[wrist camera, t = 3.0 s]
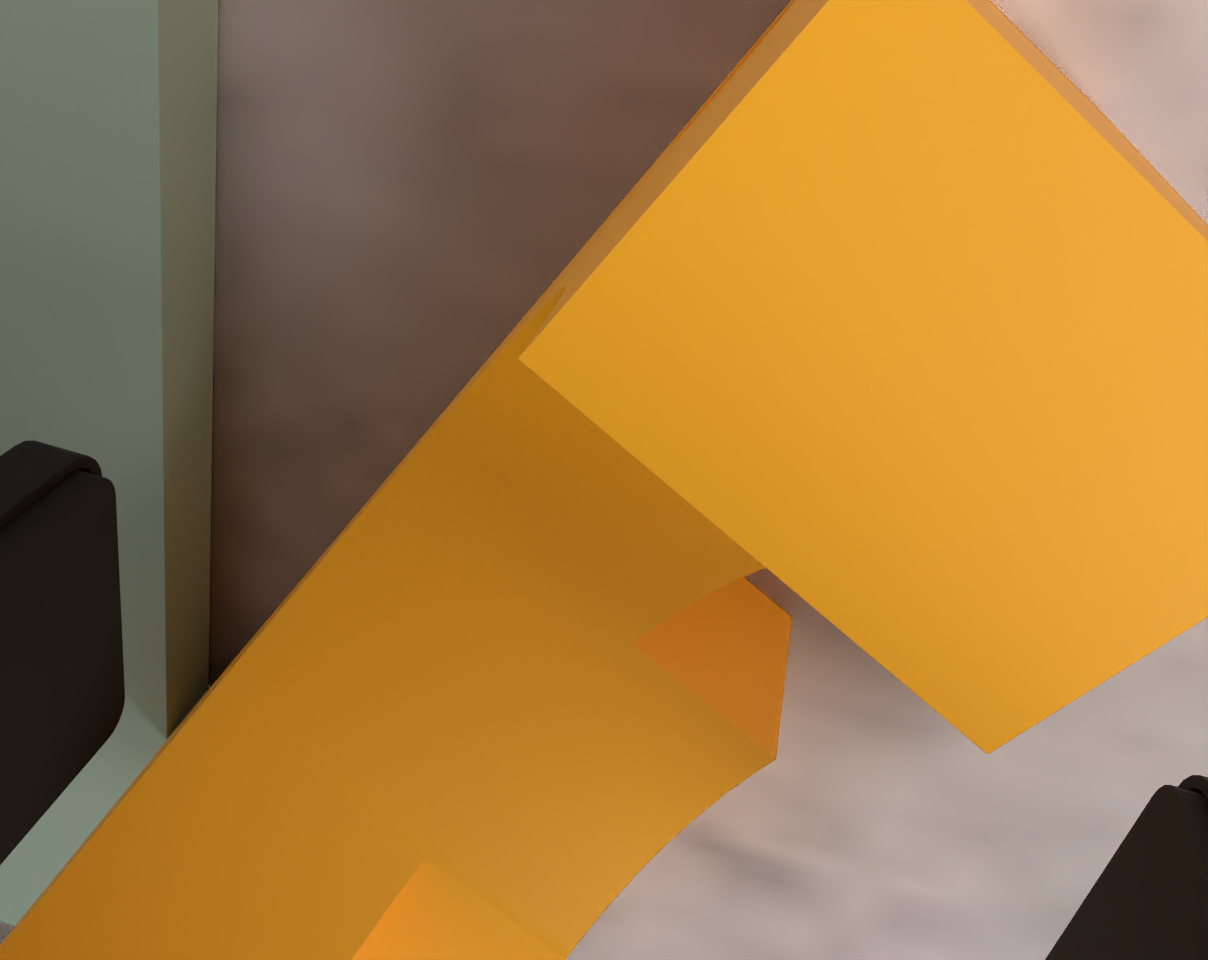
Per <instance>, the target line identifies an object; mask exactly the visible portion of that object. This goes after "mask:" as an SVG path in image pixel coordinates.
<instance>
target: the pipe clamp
mask: <svg viewBox="0 0 1208 960" xmlns="http://www.w3.org/2000/svg"><path fill="white" fill-rule="evenodd" d="M765 568H767V569H768V570H769V571H770V572H772V573H773V574H774V575H775V576H776V577H778V578H779V579H780V580H781V581H782V582H784V583H785V584H786V585H787V586H788V587H789V588H791V589H792V590H793V591H794V592H795V593H797V594H798V595H799V596H800V597H801V598H802V599H804V600H805V601H806V602H807V603H808V604H810V605H811V606H812V607H813V608H814V609H816V610H817V611H818V612H819V613H820V614H821V615H823V616H824V617H825V618H826V619H827V620H829V621H830V622H831V623H832V624H833V625H834V626H836V627H837V628H838V629H839V630H840V631H842V632H843V633H844V634H845V635H846V636H848V637H849V638H850V639H851V640H852V641H853V642H855V643H856V644H857V645H858V646H859V647H861V648H862V649H863V650H864V651H865V652H866V653H868V654H869V655H870V656H871V657H872V658H874V659H875V660H876V661H877V662H878V663H880V664H881V665H882V666H883V667H884V668H885V669H887V670H888V671H889V672H890V673H891V674H893V675H894V676H895V677H896V678H897V679H898V680H900V681H901V682H902V683H903V684H904V685H906V686H907V687H908V688H909V689H910V690H912V691H913V692H914V693H915V694H916V695H917V696H919V697H920V698H921V699H922V700H923V701H925V702H926V703H927V704H928V705H929V706H930V707H932V708H933V709H934V710H935V711H936V712H938V713H939V714H940V715H941V716H942V717H944V718H945V719H946V720H947V721H948V722H949V723H951V724H952V725H953V726H954V727H955V728H957V729H958V730H959V731H960V732H961V733H962V734H964V735H965V736H966V737H967V738H968V739H970V740H971V741H972V742H973V743H974V744H976V745H977V746H978V747H979V748H980V749H981V750H983V751H984V752H985V753H986V754H989V753H991V752H992V751H994V750H995V749H997V748H999V747H1000V746H1002V745H1003V744H1005V743H1007V742H1008V741H1010V740H1011V739H1013V738H1015V737H1016V736H1018V735H1019V734H1021V733H1023V732H1024V731H1026V730H1027V729H1029V728H1031V727H1032V726H1034V725H1035V724H1037V723H1039V722H1040V721H1042V720H1043V719H1045V718H1047V717H1048V716H1050V715H1051V714H1053V713H1055V712H1056V711H1058V710H1059V709H1061V708H1063V707H1064V706H1066V705H1067V704H1069V703H1071V702H1072V701H1074V700H1075V699H1077V698H1079V697H1080V696H1082V695H1083V694H1085V693H1087V692H1088V691H1090V690H1091V689H1093V688H1095V687H1096V686H1098V685H1099V684H1101V683H1103V682H1104V681H1106V680H1107V679H1109V678H1111V677H1112V676H1114V675H1115V674H1117V673H1119V672H1120V671H1122V670H1123V669H1125V668H1127V667H1128V666H1130V665H1131V664H1133V663H1135V662H1136V661H1138V660H1139V659H1141V658H1143V657H1144V656H1146V655H1147V654H1149V653H1151V652H1152V651H1154V650H1155V649H1157V648H1159V647H1160V646H1162V645H1163V644H1165V643H1167V642H1168V641H1170V640H1171V639H1173V638H1175V637H1176V636H1178V635H1179V634H1181V633H1183V632H1184V631H1186V630H1187V629H1189V628H1191V627H1192V626H1194V625H1195V624H1197V623H1199V622H1200V621H1202V620H1204V619H1205V618H1207V617H1208V225H1207V224H1206V223H1205V222H1204V221H1203V220H1202V219H1201V218H1200V216H1199V215H1198V214H1197V213H1196V212H1195V211H1194V210H1193V209H1192V208H1191V207H1190V206H1189V205H1188V204H1187V203H1186V202H1185V200H1184V199H1183V198H1182V197H1181V196H1180V195H1179V194H1178V193H1177V192H1176V191H1175V190H1174V189H1173V188H1172V187H1171V186H1170V184H1169V183H1168V182H1167V181H1166V180H1165V179H1164V178H1163V177H1162V176H1161V175H1160V174H1159V173H1158V172H1157V171H1156V170H1155V168H1154V167H1153V166H1152V165H1151V164H1150V163H1149V162H1148V161H1147V160H1146V159H1145V158H1144V157H1143V156H1142V155H1141V154H1140V152H1139V151H1138V150H1137V149H1136V148H1135V147H1134V146H1133V145H1132V144H1131V143H1130V142H1129V141H1128V140H1127V139H1126V138H1125V136H1124V135H1123V134H1122V133H1121V132H1120V131H1119V130H1118V129H1117V128H1116V127H1115V126H1114V125H1113V124H1112V123H1111V122H1110V120H1109V119H1108V118H1107V117H1106V116H1105V115H1104V114H1103V113H1102V112H1101V111H1100V110H1099V109H1098V108H1097V107H1096V106H1095V105H1094V104H1093V103H1092V102H1091V101H1090V100H1089V99H1088V98H1087V97H1086V96H1085V95H1084V94H1083V93H1082V92H1081V91H1080V90H1079V89H1078V88H1077V87H1076V86H1075V85H1074V84H1073V83H1072V82H1071V81H1070V80H1069V79H1068V78H1067V77H1066V76H1065V75H1064V74H1063V73H1062V72H1061V71H1060V70H1059V69H1058V68H1057V67H1056V66H1055V65H1054V64H1053V63H1052V62H1051V61H1050V60H1049V59H1048V58H1047V57H1046V56H1045V55H1044V54H1043V53H1042V52H1041V51H1040V50H1039V49H1038V48H1037V47H1036V46H1035V45H1034V44H1033V43H1032V42H1031V41H1030V40H1029V39H1028V38H1027V37H1026V36H1025V35H1024V34H1023V33H1022V32H1021V31H1020V30H1019V29H1018V28H1017V27H1016V26H1015V25H1014V24H1013V23H1012V22H1011V21H1010V20H1009V19H1008V18H1007V17H1006V16H1005V15H1004V14H1003V13H1002V12H1001V11H1000V10H999V9H998V8H997V7H996V6H995V5H994V4H993V3H992V2H991V1H990V0H791V1H790V2H789V3H788V5H787V6H786V7H785V8H784V9H783V11H782V12H781V13H780V14H779V15H778V16H777V18H776V19H775V20H774V21H773V22H772V24H771V25H770V26H769V27H768V28H767V29H766V31H765V32H764V33H763V34H762V35H761V37H760V38H759V39H758V40H757V41H756V42H755V44H754V45H753V46H752V47H751V48H750V50H749V51H748V52H747V53H746V54H745V55H744V57H743V58H742V59H741V60H740V61H739V63H738V64H737V65H736V66H735V67H734V68H733V70H732V71H731V72H730V73H729V74H728V76H727V77H726V78H725V79H724V80H723V81H722V83H721V84H720V85H719V86H718V87H717V89H716V90H715V91H714V92H713V93H712V94H711V96H710V97H709V98H708V99H707V100H706V102H705V103H704V104H703V105H702V106H701V107H700V109H699V110H698V111H697V112H696V113H695V115H694V116H693V117H692V118H691V119H690V120H689V122H688V123H687V124H686V125H685V126H684V128H683V129H682V130H681V131H680V132H679V133H678V135H677V136H676V137H675V138H674V139H673V141H672V142H671V143H670V144H669V145H668V146H667V148H666V149H665V150H664V151H663V152H662V154H661V155H660V156H659V157H658V158H657V159H656V161H655V162H654V163H653V164H652V165H651V167H650V168H649V169H648V170H647V171H646V172H645V174H644V175H643V176H642V177H641V178H640V180H639V181H638V182H637V183H636V184H635V185H634V187H633V188H632V189H631V190H630V191H629V192H628V194H627V195H626V196H625V197H624V198H623V200H622V201H621V202H620V203H619V204H618V205H617V207H616V208H615V209H614V210H613V211H612V213H611V214H610V215H609V216H608V217H607V218H606V220H605V221H604V222H603V223H602V224H601V226H600V227H599V228H598V229H597V230H596V231H595V233H594V234H593V235H592V236H591V237H590V239H589V240H588V241H587V242H586V243H585V244H584V246H583V247H582V248H581V249H580V250H579V252H578V253H577V254H576V255H575V256H574V257H573V259H572V260H571V261H570V262H569V263H568V265H567V266H566V267H565V268H564V269H563V270H562V272H561V273H560V274H559V275H558V276H557V278H556V279H555V280H554V281H553V282H552V283H551V285H550V286H549V287H548V288H547V289H546V291H545V292H544V293H543V294H542V295H541V296H540V298H539V299H538V300H537V301H536V302H535V304H534V305H533V306H532V307H531V308H530V309H529V311H528V312H527V313H526V314H525V315H524V317H523V318H522V319H521V320H520V321H519V322H518V324H517V325H516V326H515V327H514V328H513V330H512V331H511V332H510V333H509V334H508V335H507V337H506V338H505V339H504V340H503V341H502V343H501V344H500V345H499V346H498V347H497V348H496V350H495V351H494V352H493V353H492V354H491V356H490V357H489V358H488V359H487V360H486V361H485V363H484V364H483V365H482V366H481V367H480V369H479V370H478V371H477V372H476V373H475V374H474V376H473V377H472V378H471V379H470V380H469V382H468V383H467V384H466V385H465V386H464V387H463V389H462V390H461V391H460V392H459V393H458V395H457V396H456V397H455V398H454V399H453V400H452V402H451V403H450V404H449V405H448V406H447V408H446V409H445V410H444V411H443V412H442V413H441V415H440V416H439V417H438V418H437V419H436V421H435V422H434V423H433V424H432V425H431V426H430V428H429V429H428V430H427V431H426V432H425V434H424V435H423V436H422V437H421V438H420V439H419V441H418V442H417V443H416V444H415V445H414V447H413V448H412V449H411V450H410V451H409V452H408V454H407V455H406V456H405V457H404V458H403V460H402V461H401V462H400V463H399V464H398V465H397V467H396V468H395V469H394V470H393V471H392V473H391V474H390V475H389V476H388V477H387V478H386V480H385V481H384V482H383V483H382V484H381V486H380V487H379V488H378V489H377V490H376V491H375V493H374V494H373V495H372V496H371V497H370V499H369V500H368V501H367V502H366V503H365V504H364V506H363V507H362V508H361V509H360V510H359V512H358V513H357V514H356V515H355V516H354V517H353V519H352V520H351V521H350V522H349V523H348V525H347V526H346V527H345V528H344V529H343V530H342V532H341V533H340V534H339V535H338V536H337V538H336V539H335V540H334V541H333V542H332V543H331V545H330V546H329V547H328V548H327V549H326V551H325V552H324V553H323V554H322V555H321V556H320V558H319V559H318V560H317V561H316V562H315V564H314V565H313V566H312V567H311V568H310V569H309V571H308V572H307V573H306V574H305V575H304V577H303V578H302V579H301V580H300V581H299V582H298V584H297V585H296V586H295V587H294V588H293V590H292V591H291V592H290V593H289V594H288V595H287V597H286V598H285V599H284V600H283V601H282V603H281V604H280V605H279V606H278V607H277V608H276V610H275V611H274V612H273V613H272V614H271V616H270V617H269V618H268V619H267V620H266V621H265V623H264V624H263V625H262V626H261V627H260V629H259V630H258V631H257V632H256V633H255V634H254V636H253V637H252V638H251V639H250V640H249V642H248V643H247V644H246V645H245V646H244V647H243V649H242V650H241V651H240V652H239V653H238V655H237V656H236V657H235V658H234V659H233V660H232V662H231V663H230V664H229V665H228V666H227V668H226V669H225V670H224V671H223V672H222V673H221V675H220V676H219V677H218V678H217V679H216V681H215V682H214V683H213V684H212V685H211V686H210V688H209V689H208V690H207V691H206V693H205V694H204V695H203V696H202V697H201V699H200V700H199V701H198V702H197V704H196V705H195V706H194V707H193V708H192V710H191V711H190V712H189V713H188V715H187V716H186V717H185V718H184V720H183V721H182V722H181V723H180V724H179V726H178V727H177V728H176V729H175V731H174V732H173V733H172V734H171V735H170V737H169V738H168V739H167V740H166V742H165V743H164V744H163V745H162V746H161V748H160V749H159V750H158V751H157V753H156V754H155V755H154V756H153V757H152V759H151V760H150V761H149V762H148V764H147V765H146V766H145V767H144V768H143V770H142V771H141V772H140V773H139V775H138V776H137V777H136V778H135V779H134V781H133V782H132V783H131V784H130V786H129V787H128V788H127V789H126V791H125V792H124V793H123V794H122V795H121V797H120V798H119V799H118V800H117V802H116V803H115V804H114V805H113V806H112V808H111V809H110V810H109V811H108V813H107V814H106V815H105V816H104V817H103V819H102V820H101V821H100V822H99V824H98V825H97V826H96V827H95V828H94V830H93V831H92V832H91V833H90V835H89V836H88V837H87V838H86V839H85V841H84V842H83V843H82V844H81V846H80V847H79V848H78V849H77V850H76V852H75V853H74V854H73V855H72V857H71V858H70V859H69V860H68V862H67V863H66V864H65V865H64V866H63V868H62V869H61V870H60V871H59V873H58V874H57V875H56V876H55V877H54V879H53V880H52V881H51V882H50V884H49V885H48V886H47V887H46V888H45V890H44V891H43V892H42V893H41V895H40V896H39V897H38V898H37V899H36V901H35V902H34V903H33V904H32V906H31V907H30V908H29V909H28V910H27V912H26V913H25V914H24V915H23V917H22V918H21V919H20V920H19V921H18V923H17V924H16V925H15V926H14V928H13V929H12V930H11V931H10V933H9V934H8V935H7V936H6V937H5V939H4V940H3V941H2V942H1V944H0V960H565V959H566V958H567V956H568V955H569V954H570V952H571V951H572V950H573V948H574V947H575V946H576V945H577V943H578V942H579V941H580V940H581V938H582V937H583V936H584V935H585V933H586V932H587V931H588V930H589V929H590V927H591V926H592V925H593V924H594V922H595V921H596V920H597V919H598V918H599V916H600V915H601V914H602V913H603V911H604V910H605V909H606V908H607V907H608V906H609V904H610V903H611V902H612V901H613V900H614V899H615V898H616V897H617V895H618V894H619V893H620V892H621V891H622V890H623V889H624V888H625V887H626V885H627V884H628V883H629V882H630V881H631V880H632V879H633V878H634V877H635V875H636V874H637V873H638V872H639V871H640V870H641V869H642V868H643V867H644V866H645V865H646V864H647V863H648V862H649V861H650V860H651V859H652V858H653V857H654V856H655V855H656V854H657V853H658V852H659V851H660V850H661V849H662V848H663V847H664V846H665V845H666V844H667V843H668V842H669V841H671V840H672V839H673V838H674V837H675V836H676V835H677V834H678V833H679V832H681V831H682V830H683V829H684V828H685V827H686V826H687V825H688V824H689V823H690V822H692V821H693V820H694V819H695V818H696V817H697V816H698V815H700V814H701V813H702V812H703V811H705V810H706V809H707V808H708V807H710V806H711V805H712V804H713V803H715V802H716V801H717V800H718V799H719V798H721V797H722V796H723V795H724V794H726V793H727V792H728V791H730V790H731V789H733V788H734V787H735V786H737V785H738V784H740V783H741V782H743V781H744V780H745V779H747V778H748V777H750V776H751V775H752V774H754V773H755V772H757V771H758V770H760V769H761V768H763V767H765V766H766V765H768V764H769V763H771V762H772V761H774V760H776V752H777V744H778V735H779V726H780V717H781V708H782V699H783V691H784V682H785V673H786V664H787V655H788V646H789V638H790V629H791V620H792V617H791V616H790V615H789V614H787V613H786V612H785V611H784V610H783V609H781V608H780V607H779V606H778V605H777V604H775V603H774V602H773V601H772V600H771V599H769V598H768V597H767V596H766V595H765V594H764V593H762V592H761V591H760V590H759V589H758V588H756V587H755V586H754V585H753V584H752V583H750V582H749V581H748V580H747V579H746V578H744V576H747V575H749V574H752V573H754V572H757V571H759V570H762V569H765Z"/></svg>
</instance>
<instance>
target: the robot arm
mask: <svg viewBox="0 0 1208 960" xmlns="http://www.w3.org/2000/svg"><path fill="white" fill-rule="evenodd" d="M124 703H125V685H124V663H123V641H122V619H121V597H120V575H119V553H118V531H117V509H116V493H115V487H114V485H113V483H112V481H111V480H109V479H107V478H105V477H102V472H101V468H100V466H99V464H98V462H97V461H96V460H95V459H93V458H92V457H90V456H87V455H83V454H80V453H76V452H73V451H70V450H66V449H63V448H59V447H56V446H52V445H49V444H45V443H42V442H38V441H35V440H30V441H23V442H21V443H19V444H17V445H15V446H14V447H12V448H11V449H9V450H8V451H7V452H5V453H4V454H2V455H1V456H0V865H1V864H2V863H3V862H4V860H5V859H6V858H7V857H8V856H9V855H10V853H11V852H12V851H13V850H14V849H15V848H16V846H17V845H18V844H19V843H20V842H21V841H22V839H23V838H24V837H25V836H26V835H27V834H28V832H29V831H30V830H31V829H32V828H33V827H34V825H35V824H36V823H37V822H38V821H39V819H40V818H41V817H42V816H43V815H44V814H45V812H46V811H47V810H48V809H49V808H50V807H51V805H52V804H53V803H54V802H55V801H56V800H57V798H58V797H59V796H60V795H61V794H62V793H63V791H64V790H65V789H66V788H67V787H68V786H69V784H70V783H71V782H72V781H73V780H74V779H75V777H76V776H77V775H78V774H79V773H80V772H81V770H82V769H83V768H84V767H85V766H86V764H87V763H88V762H89V761H90V760H91V759H92V757H93V756H94V755H95V754H96V753H97V752H98V750H99V749H100V748H101V747H102V746H103V745H104V743H105V742H106V741H107V740H108V739H109V737H110V736H111V735H112V733H113V732H114V730H115V728H116V726H117V724H118V723H119V720H120V717H121V715H122V712H123V708H124ZM1045 960H1208V777H1204V776H1201V775H1192V776H1190V777H1188V778H1186V779H1185V780H1183V782H1182V783H1181V784H1180V785H1179V786H1178V787H1175V786H1172V785H1164V786H1162V787H1161V788H1159V789H1158V790H1157V791H1156V793H1155V794H1154V795H1153V796H1152V798H1151V799H1150V801H1149V802H1148V804H1147V805H1146V807H1145V809H1144V810H1143V812H1142V813H1141V815H1140V816H1139V818H1138V819H1137V821H1136V822H1135V824H1134V825H1133V827H1132V828H1131V830H1130V831H1129V833H1128V834H1127V836H1126V837H1125V839H1124V841H1123V842H1122V844H1121V845H1120V847H1119V848H1118V850H1117V851H1116V853H1115V854H1114V856H1113V857H1112V859H1111V860H1110V862H1109V863H1108V865H1107V866H1106V868H1105V870H1104V871H1103V873H1102V874H1101V876H1100V877H1099V879H1098V880H1097V882H1096V883H1095V885H1094V886H1093V888H1092V889H1091V891H1090V892H1089V894H1088V895H1087V897H1086V898H1085V900H1084V902H1083V903H1082V905H1081V906H1080V908H1079V909H1078V911H1077V912H1076V914H1075V915H1074V917H1073V918H1072V920H1071V921H1070V923H1069V924H1068V926H1067V927H1066V929H1065V930H1064V932H1063V934H1062V935H1061V937H1060V938H1059V940H1058V941H1057V943H1056V944H1055V946H1054V947H1053V949H1052V950H1051V952H1050V953H1049V955H1048V956H1047V958H1046V959H1045Z"/></svg>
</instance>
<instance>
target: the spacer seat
mask: <svg viewBox="0 0 1208 960" xmlns="http://www.w3.org/2000/svg"><path fill="white" fill-rule="evenodd" d="M218 2H219V0H0V456H1V455H2V454H4V453H5V452H7V451H8V450H9V449H11V448H12V447H14V446H15V445H17V444H19V443H21V442H23V441H30V440H35V441H38V442H42V443H45V444H49V445H52V446H56V447H59V448H63V449H66V450H70V451H73V452H76V453H80V454H83V455H87V456H90V457H92V458H93V459H95V460H96V461H97V462H98V464H99V466H100V468H101V472H102V477H105V478H107V479H109V480H111V481H112V483H113V485H114V487H115V493H116V509H117V531H118V553H119V575H120V597H121V619H122V641H123V663H124V685H125V703H124V708H123V712H122V715H121V717H120V720H119V723H118V724H117V726H116V728H115V730H114V732H113V733H112V735H111V736H110V737H109V739H108V740H107V741H106V742H105V743H104V745H103V746H102V747H101V748H100V749H99V750H98V752H97V753H96V754H95V755H94V756H93V757H92V759H91V760H90V761H89V762H88V763H87V764H86V766H85V767H84V768H83V769H82V770H81V772H80V773H79V774H78V775H77V776H76V777H75V779H74V780H73V781H72V782H71V783H70V784H69V786H68V787H67V788H66V789H65V790H64V791H63V793H62V794H61V795H60V796H59V797H58V798H57V800H56V801H55V802H54V803H53V804H52V805H51V807H50V808H49V809H48V810H47V811H46V812H45V814H44V815H43V816H42V817H41V818H40V819H39V821H38V822H37V823H36V824H35V825H34V827H33V828H32V829H31V830H30V831H29V832H28V834H27V835H26V836H25V837H24V838H23V839H22V841H21V842H20V843H19V844H18V845H17V846H16V848H15V849H14V850H13V851H12V852H11V853H10V855H9V856H8V857H7V858H6V859H5V860H4V862H3V863H2V864H1V865H0V922H3V923H6V924H8V925H11V926H15V925H16V924H17V923H18V921H19V920H20V919H21V918H22V917H23V915H24V914H25V913H26V912H27V910H28V909H29V908H30V907H31V906H32V904H33V903H34V902H35V901H36V899H37V898H38V897H39V896H40V895H41V893H42V892H43V891H44V890H45V888H46V887H47V886H48V885H49V884H50V882H51V881H52V880H53V879H54V877H55V876H56V875H57V874H58V873H59V871H60V870H61V869H62V868H63V866H64V865H65V864H66V863H67V862H68V860H69V859H70V858H71V857H72V855H73V854H74V853H75V852H76V850H77V849H78V848H79V847H80V846H81V844H82V843H83V842H84V841H85V839H86V838H87V837H88V836H89V835H90V833H91V832H92V831H93V830H94V828H95V827H96V826H97V825H98V824H99V822H100V821H101V820H102V819H103V817H104V816H105V815H106V814H107V813H108V811H109V810H110V809H111V808H112V806H113V805H114V804H115V803H116V802H117V800H118V799H119V798H120V797H121V795H122V794H123V793H124V792H125V791H126V789H127V788H128V787H129V786H130V784H131V783H132V782H133V781H134V779H135V778H136V777H137V776H138V775H139V773H140V772H141V771H142V770H143V768H144V767H145V766H146V765H147V764H148V762H149V761H150V760H151V759H152V757H153V756H154V755H155V754H156V753H157V751H158V750H159V749H160V748H161V746H162V745H163V744H164V743H165V742H166V740H167V739H168V738H169V737H170V735H171V734H172V733H173V732H174V731H175V729H176V728H177V727H178V726H179V724H180V723H181V722H182V721H183V720H184V718H185V717H186V716H187V715H188V713H189V712H190V711H191V710H192V708H193V707H194V706H195V705H196V704H197V702H198V701H199V700H200V699H201V697H202V696H203V695H204V694H205V693H206V691H207V690H208V685H209V617H210V549H211V480H212V412H213V344H214V275H215V207H216V139H217V71H218Z"/></svg>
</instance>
